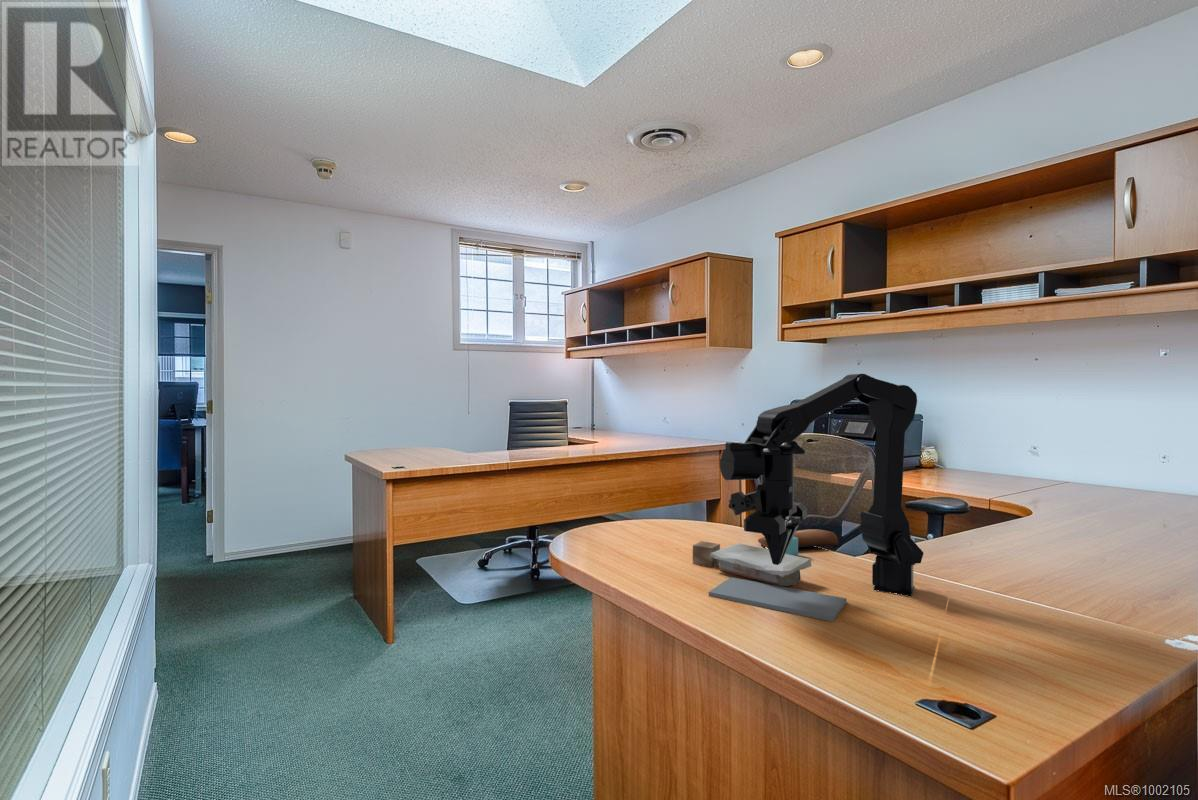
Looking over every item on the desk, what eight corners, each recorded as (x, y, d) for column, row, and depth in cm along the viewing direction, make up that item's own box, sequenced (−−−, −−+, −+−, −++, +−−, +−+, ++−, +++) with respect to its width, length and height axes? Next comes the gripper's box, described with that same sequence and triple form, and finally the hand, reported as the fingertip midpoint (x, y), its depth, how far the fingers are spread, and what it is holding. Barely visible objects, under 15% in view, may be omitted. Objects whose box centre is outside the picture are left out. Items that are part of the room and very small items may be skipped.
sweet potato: (816, 535, 153) (826, 518, 149) (830, 557, 147) (841, 540, 143) (755, 539, 147) (764, 522, 144) (767, 562, 142) (777, 545, 138)
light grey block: (739, 562, 131) (710, 573, 125) (738, 541, 131) (709, 551, 125) (813, 582, 117) (784, 595, 111) (812, 558, 117) (783, 570, 111)
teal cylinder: (800, 556, 138) (800, 537, 138) (795, 560, 134) (795, 540, 134) (780, 553, 141) (780, 534, 141) (775, 557, 137) (775, 538, 137)
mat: (846, 602, 106) (846, 598, 106) (832, 621, 97) (832, 616, 97) (730, 581, 119) (730, 577, 119) (708, 596, 110) (708, 591, 110)
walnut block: (719, 564, 131) (719, 544, 131) (711, 568, 128) (711, 548, 128) (701, 560, 134) (701, 541, 134) (692, 565, 130) (692, 545, 130)
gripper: (751, 470, 120) (751, 546, 120) (715, 480, 105) (715, 568, 105) (808, 474, 114) (807, 555, 114) (778, 486, 99) (778, 579, 99)
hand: (776, 563), depth 108 cm, fingers closed
